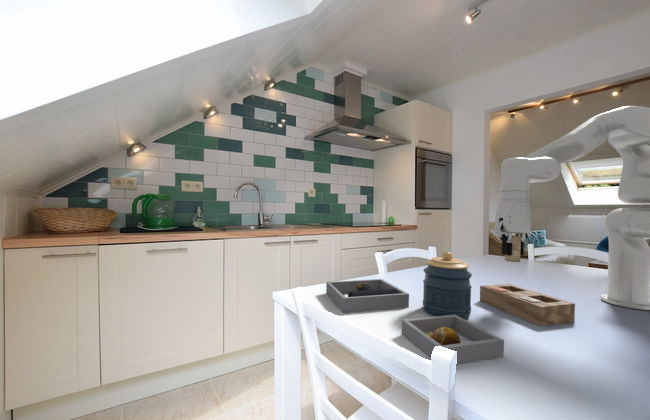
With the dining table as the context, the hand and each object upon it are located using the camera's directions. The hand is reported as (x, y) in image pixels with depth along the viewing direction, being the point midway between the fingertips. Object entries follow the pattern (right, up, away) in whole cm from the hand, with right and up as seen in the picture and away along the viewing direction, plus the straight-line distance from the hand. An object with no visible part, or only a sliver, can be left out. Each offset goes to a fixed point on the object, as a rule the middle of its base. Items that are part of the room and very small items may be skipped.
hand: (512, 254), depth 89 cm
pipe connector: (-46, -16, 0) cm, 48 cm away
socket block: (0, -16, -5) cm, 17 cm away
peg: (0, -2, 0) cm, 2 cm away
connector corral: (-47, -15, +2) cm, 49 cm away
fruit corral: (-33, -16, -28) cm, 45 cm away
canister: (-25, -16, -8) cm, 30 cm away
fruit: (-35, -16, -26) cm, 46 cm away
